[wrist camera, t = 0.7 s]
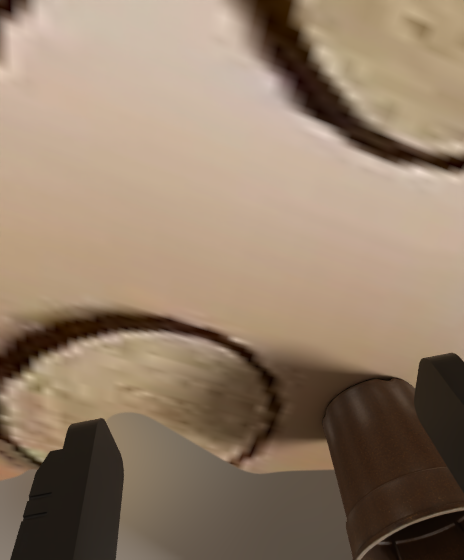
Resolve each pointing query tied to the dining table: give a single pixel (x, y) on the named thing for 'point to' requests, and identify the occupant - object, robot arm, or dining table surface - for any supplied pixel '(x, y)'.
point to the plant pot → (392, 477)
